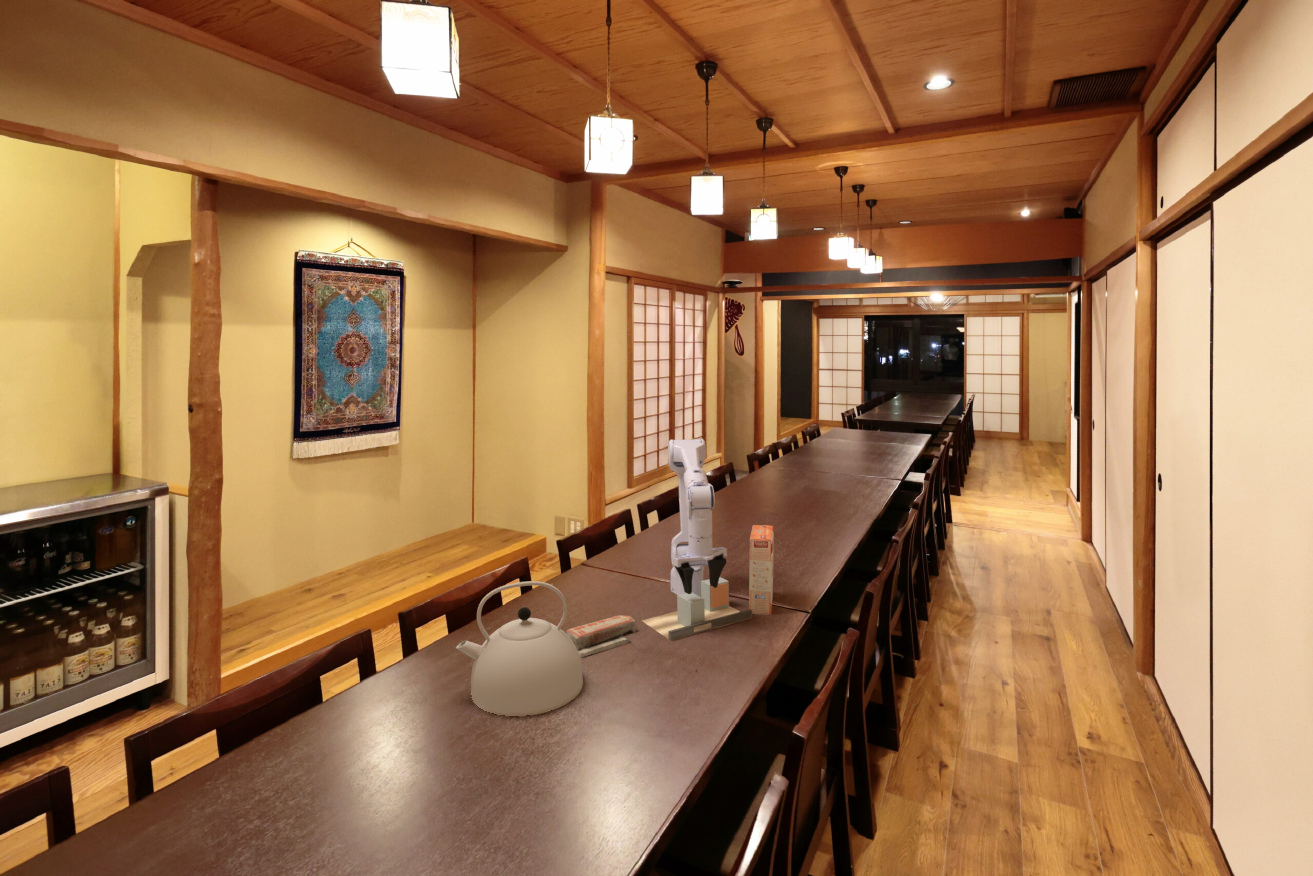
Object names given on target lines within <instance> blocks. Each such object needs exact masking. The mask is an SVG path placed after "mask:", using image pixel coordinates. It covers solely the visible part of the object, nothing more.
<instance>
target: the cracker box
mask: <svg viewBox="0 0 1313 876" xmlns="http://www.w3.org/2000/svg"><path fill="white" fill-rule="evenodd" d="M774 536H775V535H774V526H773V525H769V524H764V525H760V524H754V525H752V528H751V533H750V537H749V575H748V577H749V578H748V579H749V583H748V585H749V587H748V588H749V591H748V593H749V595H748V597H749V598H748V599H749V600H748V601H749V602H748V609H751V610H752V615H766V616H767V615H770V616H771V615H772V610H773V599H774V561H775V560H774V555H775V554H774V553H775V552H774V549H775V547H774V545H775V543H774V541H775V540H774V538H775V537H774Z"/></svg>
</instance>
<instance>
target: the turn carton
mask: <svg viewBox="0 0 1313 876" xmlns="http://www.w3.org/2000/svg"><path fill="white" fill-rule="evenodd" d="M676 597H677V598H676V601H677V603H676V604H677V605H676V606H677V609H676V611H677V613H678V623H680V624H681V625H683V626H684V627H685V626H689V625H693V624H696V623H700V622H704V621H705V605H704V599H703V598H701V597H699V596H697V595H696V594H694V593H691V594H687V593H684V594H680V595H676Z"/></svg>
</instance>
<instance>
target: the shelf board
mask: <svg viewBox="0 0 1313 876" xmlns="http://www.w3.org/2000/svg"><path fill="white" fill-rule="evenodd" d="M750 619H753V614H752V610H751V609H749V608H748V609H745V610H742V611H740V610H738V609H736V608H734V607H732V606H730V605H729V607H727V608H723V609H719V610H715V611H711V612H710V611H708V610H706V609H705V621H704V622H700V623H696V624H693V625H689V626H685V627H684V626H683V625H681V624H680V623H678V613H677V610H676V611H673V612H669V613H666V614H661V615H657V616H653V617H650V618H646V619H641V622H643V623H644V624H645V625H647V626H648V627H650V628H651V629H653V630H654V631H656V632H657V633H659V634H660V635H662V636H663V637H664V638H666V639H667V640H669V641H675V640H679V639H682V638H687V637H690V636H693V635H697V634H700V633H704V632H706V631H711V630H714V629H718V628H722V627H725V626H728V625H732V624H736V623H739V622H743V621H747V620H750Z"/></svg>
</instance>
